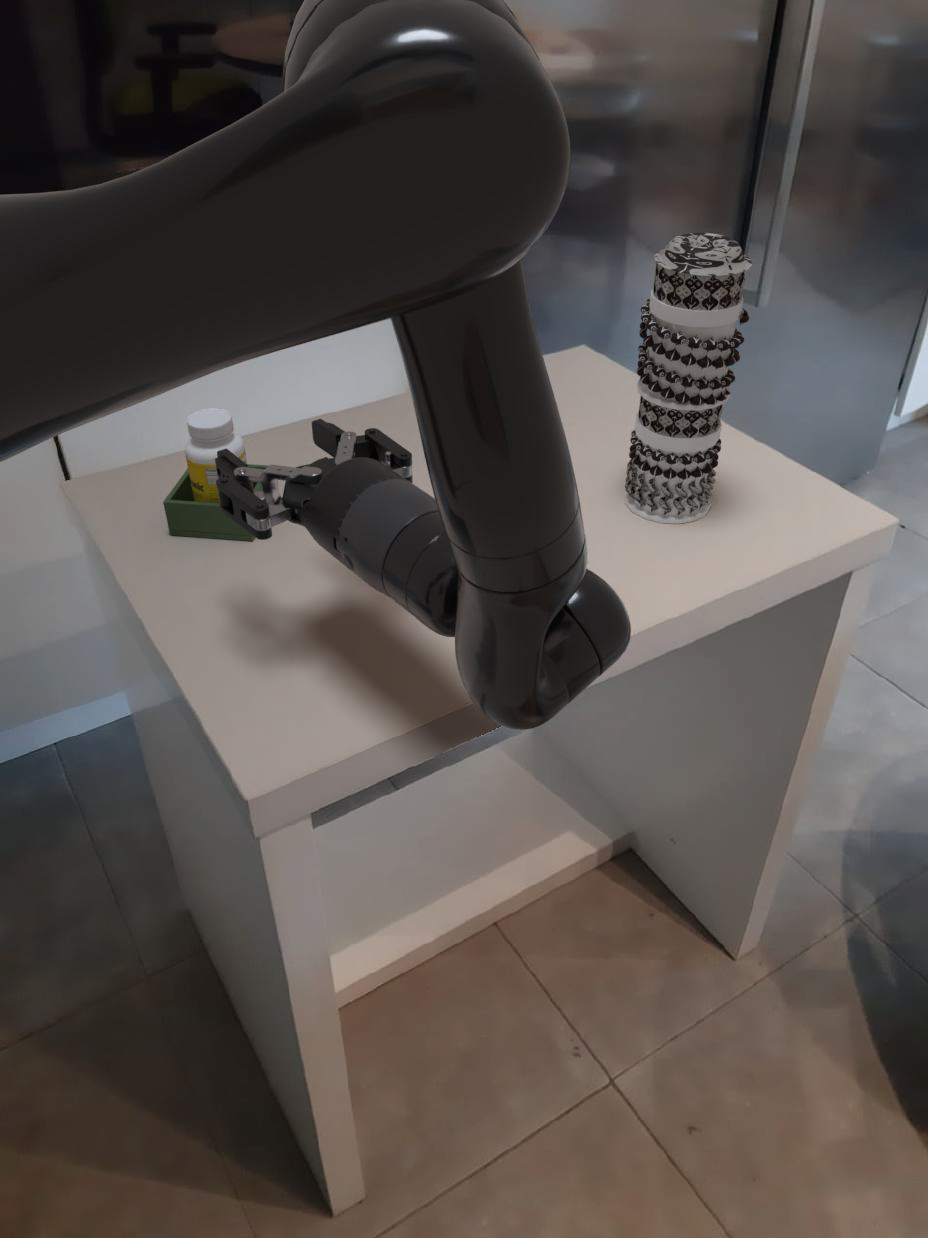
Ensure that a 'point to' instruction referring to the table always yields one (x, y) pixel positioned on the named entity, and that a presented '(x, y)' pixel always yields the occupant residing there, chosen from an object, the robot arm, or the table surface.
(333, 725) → the table surface
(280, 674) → the table surface
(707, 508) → the decorative candle
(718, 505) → the table surface
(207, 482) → the supplement bottle
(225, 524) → the basket
